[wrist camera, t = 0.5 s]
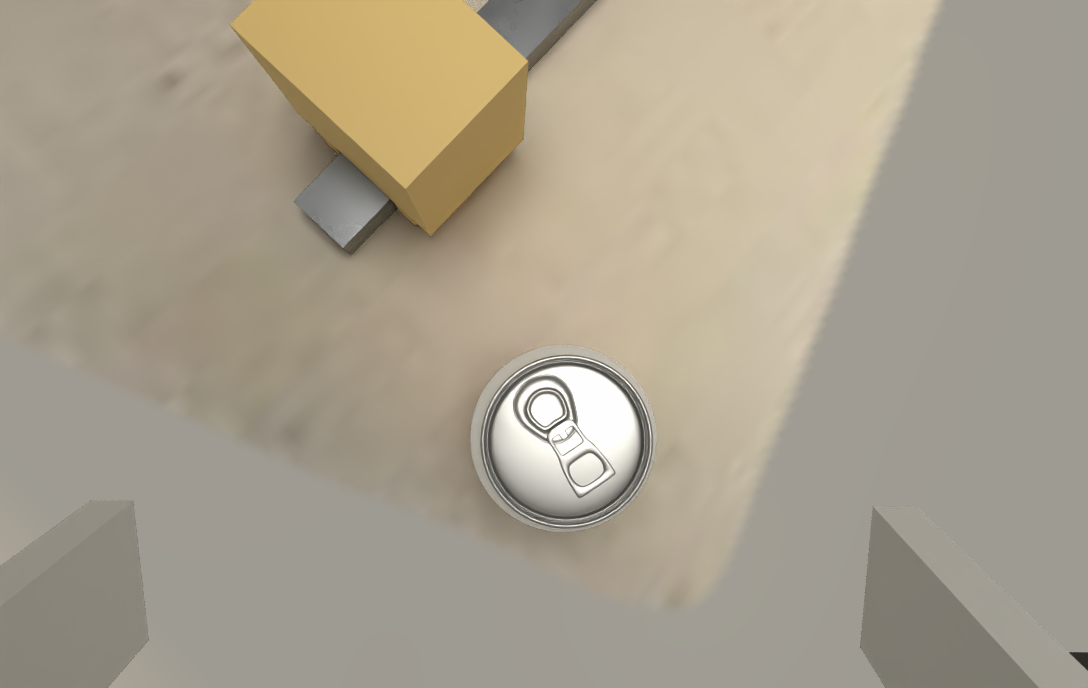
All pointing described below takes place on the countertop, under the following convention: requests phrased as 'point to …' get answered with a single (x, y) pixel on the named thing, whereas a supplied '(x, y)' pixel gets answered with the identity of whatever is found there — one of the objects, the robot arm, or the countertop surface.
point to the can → (563, 438)
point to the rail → (353, 199)
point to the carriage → (398, 91)
